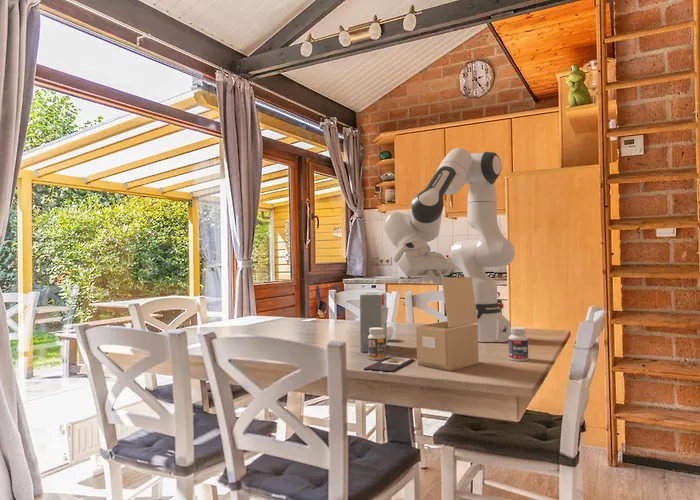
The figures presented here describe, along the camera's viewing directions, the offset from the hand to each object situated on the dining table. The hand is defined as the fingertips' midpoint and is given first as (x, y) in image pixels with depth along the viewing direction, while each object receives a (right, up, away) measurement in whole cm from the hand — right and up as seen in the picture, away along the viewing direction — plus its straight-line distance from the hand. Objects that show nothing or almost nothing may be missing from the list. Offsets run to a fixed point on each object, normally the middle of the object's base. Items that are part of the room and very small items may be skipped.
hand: (440, 283), depth 161 cm
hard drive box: (-19, -25, +28) cm, 43 cm away
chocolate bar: (-15, -26, 0) cm, 30 cm away
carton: (+2, -25, -1) cm, 25 cm away
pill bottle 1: (-19, -25, +10) cm, 33 cm away
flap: (+6, -12, -5) cm, 15 cm away
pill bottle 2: (+25, -24, +5) cm, 35 cm away
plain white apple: (-14, -25, +46) cm, 54 cm away
